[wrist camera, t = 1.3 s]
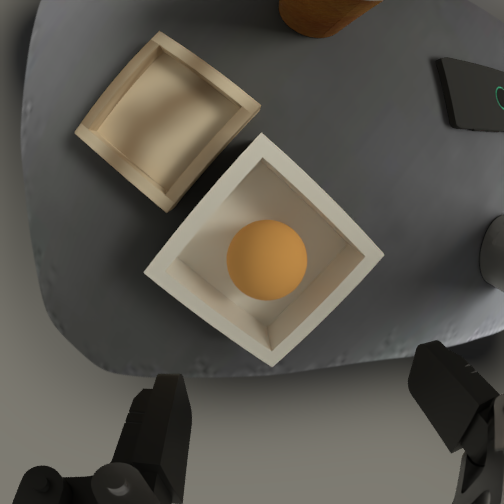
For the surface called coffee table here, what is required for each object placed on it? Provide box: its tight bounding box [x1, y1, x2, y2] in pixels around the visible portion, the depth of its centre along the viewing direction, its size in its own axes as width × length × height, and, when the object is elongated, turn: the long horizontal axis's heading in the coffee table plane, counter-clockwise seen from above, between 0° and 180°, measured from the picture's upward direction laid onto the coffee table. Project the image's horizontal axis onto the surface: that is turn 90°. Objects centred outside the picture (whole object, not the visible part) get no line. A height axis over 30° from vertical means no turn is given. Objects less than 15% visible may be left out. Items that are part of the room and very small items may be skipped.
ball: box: [226, 220, 307, 301], centre depth 22 cm, size 6×6×6 cm
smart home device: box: [436, 57, 504, 132], centre depth 22 cm, size 8×2×20 cm
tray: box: [75, 31, 261, 213], centre depth 22 cm, size 11×11×2 cm
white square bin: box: [144, 133, 384, 367], centre depth 24 cm, size 13×13×5 cm
